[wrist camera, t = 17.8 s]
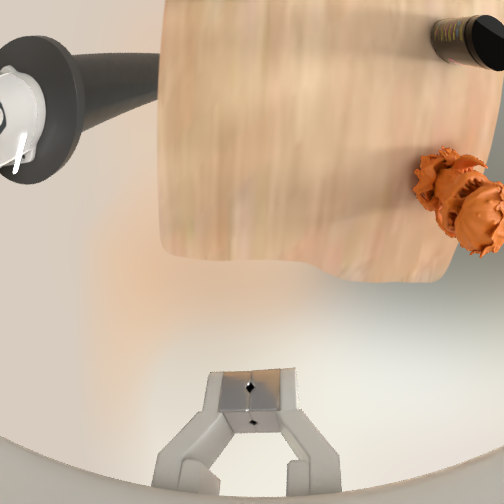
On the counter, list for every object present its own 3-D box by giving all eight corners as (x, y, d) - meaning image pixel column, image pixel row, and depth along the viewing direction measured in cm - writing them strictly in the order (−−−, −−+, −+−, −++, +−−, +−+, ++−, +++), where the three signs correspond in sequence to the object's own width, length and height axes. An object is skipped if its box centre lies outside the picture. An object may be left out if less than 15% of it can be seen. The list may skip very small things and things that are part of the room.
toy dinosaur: (417, 127, 36) (494, 175, 21) (473, 152, 36) (548, 207, 22) (392, 197, 42) (445, 273, 27) (447, 215, 43) (505, 287, 28)
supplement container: (430, 60, 30) (473, 65, 22) (426, 15, 26) (468, 8, 18) (468, 67, 29) (514, 76, 21) (466, 24, 26) (511, 23, 17)
